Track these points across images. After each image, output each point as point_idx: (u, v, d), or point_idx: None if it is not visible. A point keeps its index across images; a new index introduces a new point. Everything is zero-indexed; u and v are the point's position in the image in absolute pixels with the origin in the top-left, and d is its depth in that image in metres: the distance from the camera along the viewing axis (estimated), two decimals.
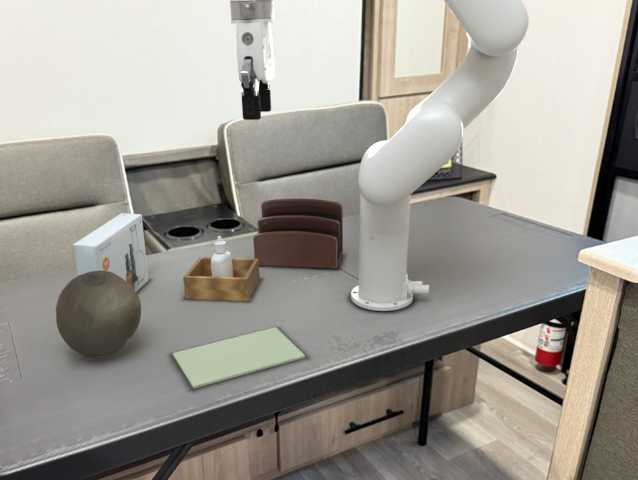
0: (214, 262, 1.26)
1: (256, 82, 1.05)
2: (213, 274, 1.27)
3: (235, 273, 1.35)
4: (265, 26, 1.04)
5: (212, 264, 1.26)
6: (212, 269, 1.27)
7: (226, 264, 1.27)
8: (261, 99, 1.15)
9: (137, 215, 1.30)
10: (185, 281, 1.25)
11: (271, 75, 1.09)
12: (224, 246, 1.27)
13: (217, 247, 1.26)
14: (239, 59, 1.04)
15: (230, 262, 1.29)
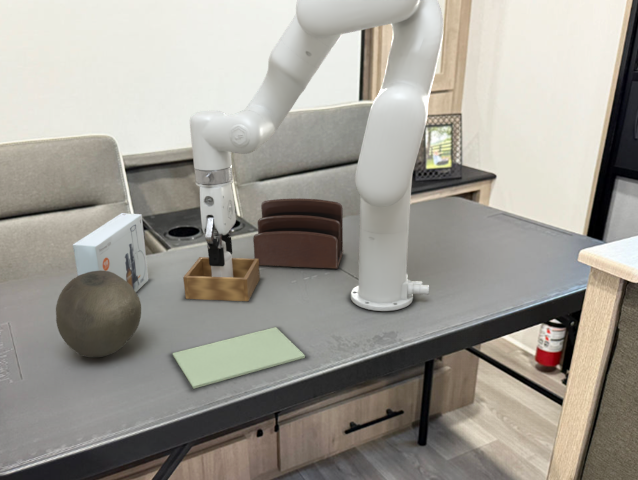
0: None
1: (219, 237, 1.22)
2: (213, 274, 1.27)
3: (235, 273, 1.35)
4: (225, 188, 1.20)
5: None
6: (212, 269, 1.27)
7: (226, 264, 1.27)
8: None
9: (137, 215, 1.30)
10: (185, 281, 1.25)
11: (232, 224, 1.25)
12: (224, 246, 1.26)
13: None
14: (202, 217, 1.20)
15: (230, 262, 1.29)
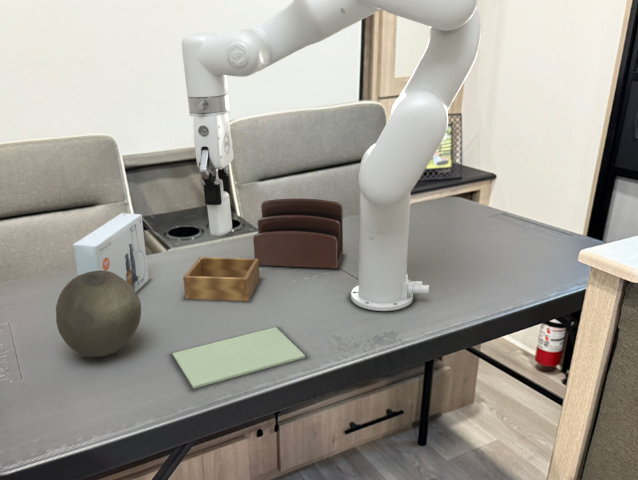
0: None
1: (215, 172, 1.14)
2: (209, 215, 1.19)
3: (235, 273, 1.35)
4: (220, 118, 1.11)
5: None
6: (208, 209, 1.19)
7: (223, 204, 1.19)
8: None
9: (137, 215, 1.30)
10: (185, 281, 1.25)
11: (229, 159, 1.17)
12: (221, 184, 1.18)
13: None
14: (196, 149, 1.12)
15: (228, 202, 1.21)
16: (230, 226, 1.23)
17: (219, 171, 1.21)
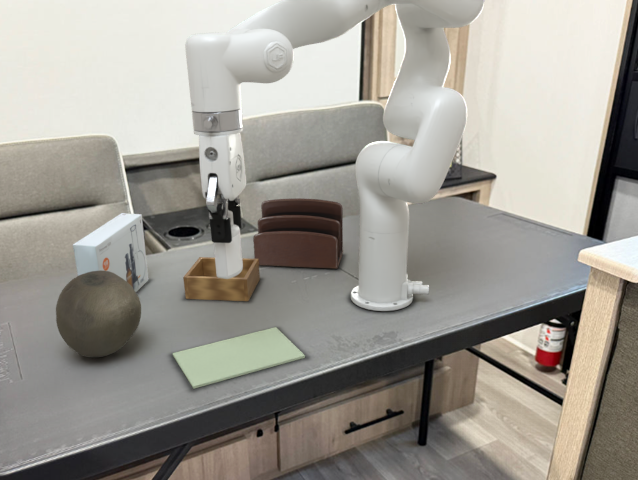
0: None
1: (224, 204, 0.93)
2: (216, 254, 0.98)
3: None
4: (232, 138, 0.90)
5: None
6: (215, 247, 0.97)
7: (233, 240, 0.98)
8: None
9: (137, 215, 1.30)
10: (185, 281, 1.25)
11: (241, 187, 0.96)
12: (231, 217, 0.97)
13: None
14: (202, 176, 0.90)
15: (238, 238, 0.99)
16: (241, 266, 1.02)
17: (228, 200, 1.00)
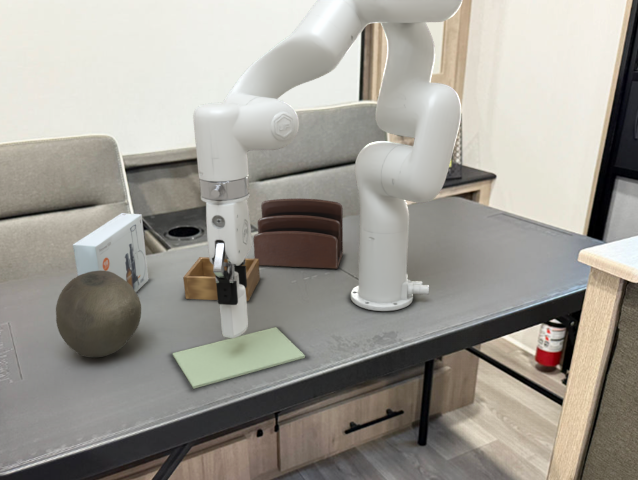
0: None
1: (231, 269, 0.93)
2: (222, 314, 0.99)
3: None
4: (239, 204, 0.91)
5: None
6: (221, 308, 0.98)
7: (239, 301, 0.99)
8: None
9: (137, 215, 1.30)
10: (185, 281, 1.25)
11: (247, 250, 0.97)
12: (236, 278, 0.98)
13: None
14: (209, 242, 0.91)
15: (244, 298, 1.00)
16: (246, 325, 1.02)
17: None
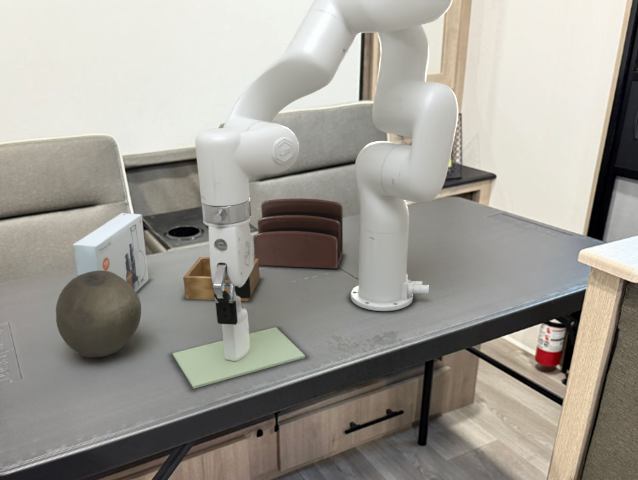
0: (227, 324, 0.99)
1: (231, 288, 0.94)
2: (225, 338, 1.01)
3: None
4: (241, 228, 0.93)
5: (224, 326, 1.00)
6: (223, 332, 1.00)
7: (241, 325, 1.01)
8: (239, 286, 1.04)
9: (137, 215, 1.30)
10: (185, 281, 1.25)
11: (249, 271, 0.98)
12: (239, 303, 1.00)
13: None
14: (212, 265, 0.93)
15: (246, 322, 1.02)
16: (248, 347, 1.04)
17: None
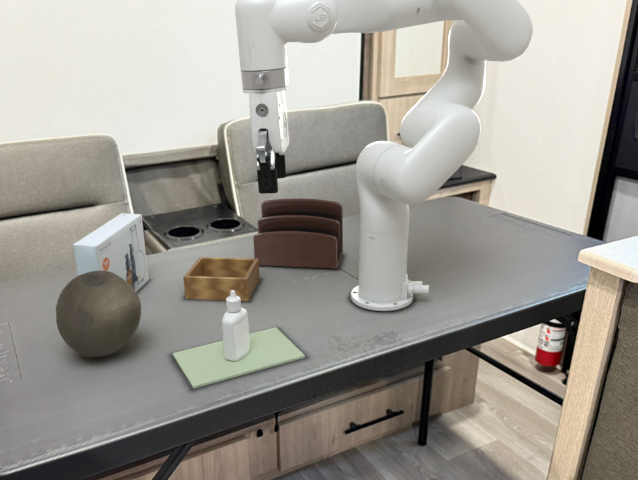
0: (227, 324, 0.99)
1: (272, 155, 0.97)
2: (225, 338, 1.01)
3: (235, 273, 1.35)
4: (280, 95, 0.96)
5: (223, 326, 1.00)
6: (223, 332, 1.00)
7: (241, 325, 1.01)
8: (275, 165, 1.08)
9: (137, 215, 1.30)
10: (185, 281, 1.25)
11: (287, 143, 1.02)
12: (239, 303, 1.00)
13: (230, 304, 0.99)
14: (253, 131, 0.96)
15: (246, 322, 1.02)
16: (248, 347, 1.04)
17: None
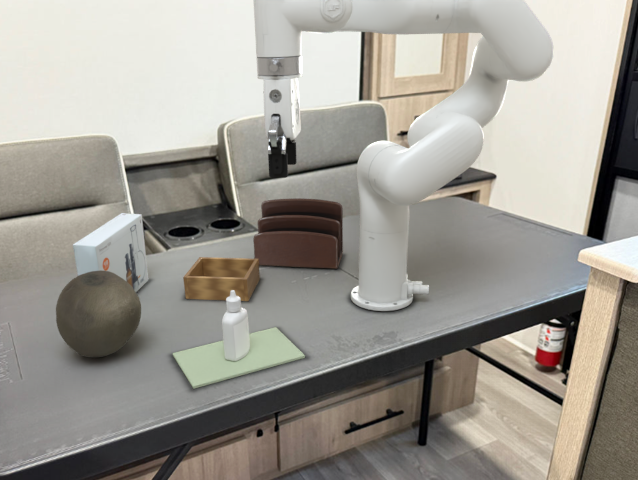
0: (227, 324, 0.99)
1: (284, 140, 1.01)
2: (225, 338, 1.01)
3: (235, 273, 1.35)
4: (293, 82, 0.99)
5: (223, 326, 1.00)
6: (223, 332, 1.00)
7: (241, 325, 1.01)
8: (286, 152, 1.11)
9: (137, 215, 1.30)
10: (185, 281, 1.25)
11: (298, 130, 1.05)
12: (239, 303, 1.00)
13: (230, 304, 0.99)
14: (266, 116, 0.99)
15: (246, 322, 1.02)
16: (248, 347, 1.04)
17: None
